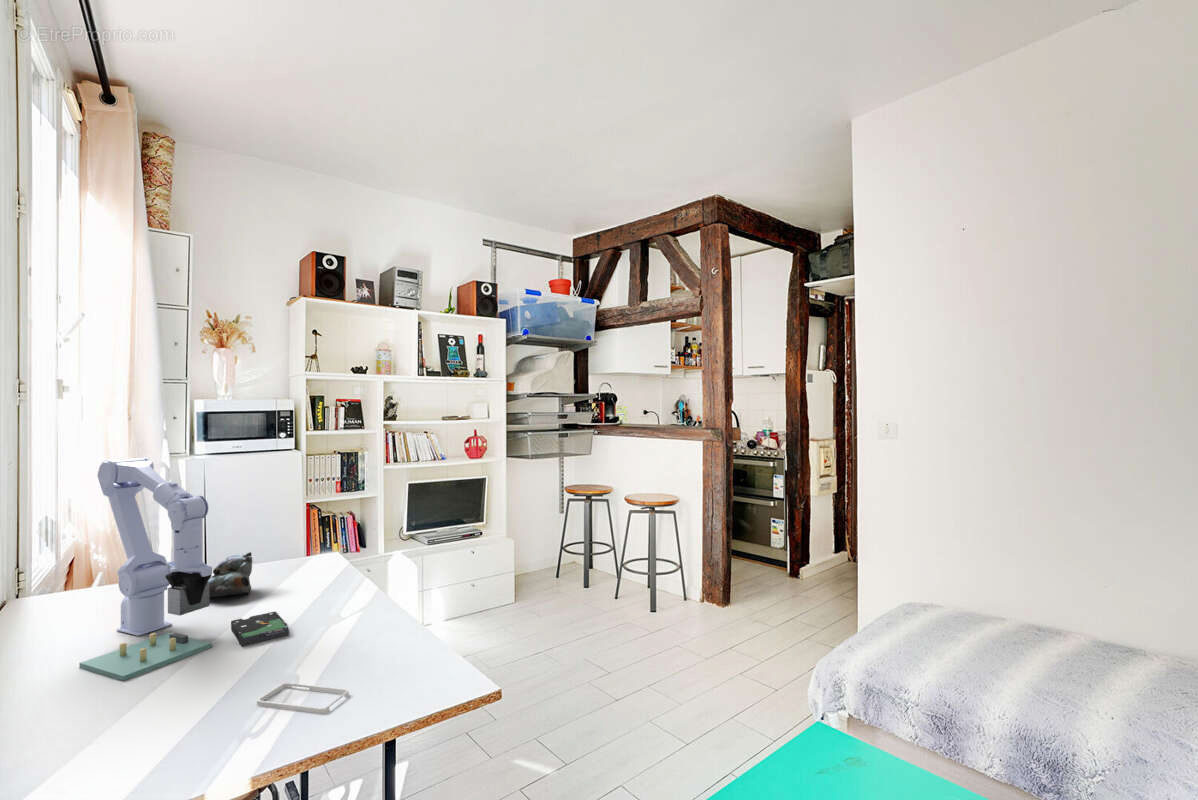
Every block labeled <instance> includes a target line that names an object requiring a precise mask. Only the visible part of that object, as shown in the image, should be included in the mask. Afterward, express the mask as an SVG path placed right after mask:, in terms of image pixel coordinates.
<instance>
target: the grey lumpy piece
mask: <svg viewBox="0 0 1198 800" xmlns="http://www.w3.org/2000/svg"><path fill="white" fill-rule="evenodd" d="M252 571H253V557H252V552H251V551H250V552H247V553H246V554H233V555H231V556H227V557H226V558H225V559H224V560H222V561H220V562H219V563H218V564H217V565H216V567H214V569H212V574H214V575H213V576H212V575H211V577H210V579H209V580H208V582H209V599H210V598H213V597H223V596H235V595H242V596H249V595H250V593H251V591H252V585H251V581H250V576H251V574H252Z"/></svg>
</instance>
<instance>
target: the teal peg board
mask: <svg viewBox="0 0 1198 800" xmlns="http://www.w3.org/2000/svg"><path fill="white" fill-rule="evenodd" d="M127 644H128V643H127V642H122V643H119V649H117V650H114V651H110V652H107V653H105V654H102V655H99V656H96V657H93V658H90V659H87V660H84V661H82V662H79V664H78V665H79V668H80V669H83V670H85V671H86V670H87V671H88V672H89V671H90V672H93V673H96V674H99V675H103V676H104V677H105V676H106V677H109V678H112V679H115V680H119V681H122V682H124V681H127V680H129V679H133V678H135V677H137V676H141V675H143V674H146V673H147V672H150V671H153V670H156V669H158V668H161V667H163V666H166V665H168V664H171V663H174V662H176V661H178V660H182V659H185V658H187V657H189V656H192V655H194V654H197V653H200V652H202V651H205V650H208V649H210V648H212V647H213V643H212V642H210V641H205V640H201V639H197V638H194V637H189V635H186V634H182V633H178V632H173V633H172V632H167V633H163V634H161V635H158V636H157V633H156V632H151V633H150V634H149V639H146V640H143V641H141V642H136V643H135V644H131V645H129V646H127Z"/></svg>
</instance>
